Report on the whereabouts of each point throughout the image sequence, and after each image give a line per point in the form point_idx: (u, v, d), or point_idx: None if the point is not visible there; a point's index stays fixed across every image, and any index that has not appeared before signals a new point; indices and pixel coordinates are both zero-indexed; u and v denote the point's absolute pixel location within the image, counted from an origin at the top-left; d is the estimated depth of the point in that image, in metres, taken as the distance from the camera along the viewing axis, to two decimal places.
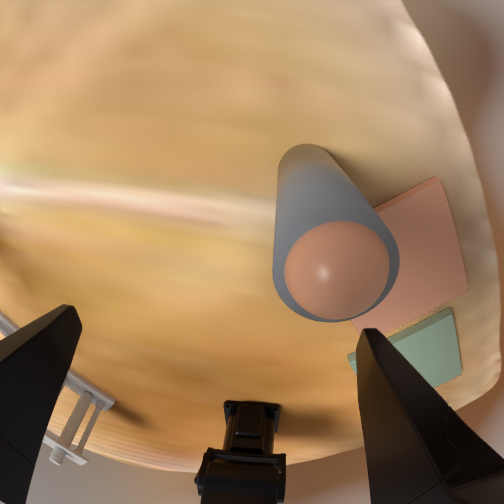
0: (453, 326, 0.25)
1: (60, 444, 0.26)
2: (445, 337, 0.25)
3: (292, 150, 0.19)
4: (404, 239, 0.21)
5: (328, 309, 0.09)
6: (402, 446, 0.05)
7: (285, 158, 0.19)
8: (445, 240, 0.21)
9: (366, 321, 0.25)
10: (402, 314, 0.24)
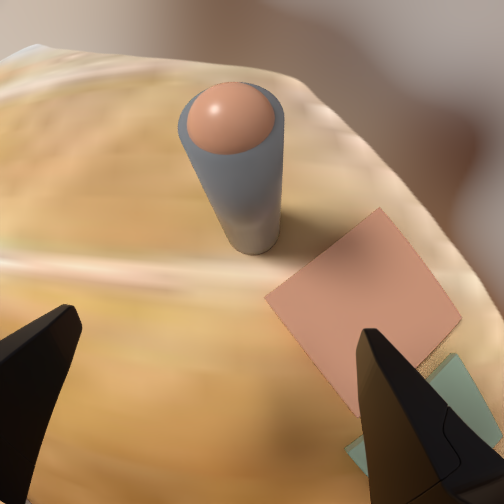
0: (465, 371, 0.18)
1: None
2: (461, 389, 0.18)
3: None
4: (364, 272, 0.21)
5: (215, 112, 0.10)
6: (402, 446, 0.05)
7: None
8: (409, 265, 0.21)
9: (352, 385, 0.19)
10: None
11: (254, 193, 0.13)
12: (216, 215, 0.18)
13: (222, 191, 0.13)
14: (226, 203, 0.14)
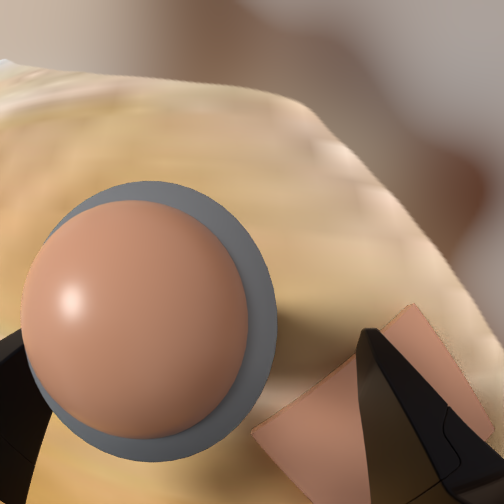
0: None
1: None
2: None
3: None
4: None
5: (50, 362, 0.03)
6: (402, 446, 0.05)
7: None
8: (445, 380, 0.14)
9: None
10: None
11: None
12: None
13: None
14: None
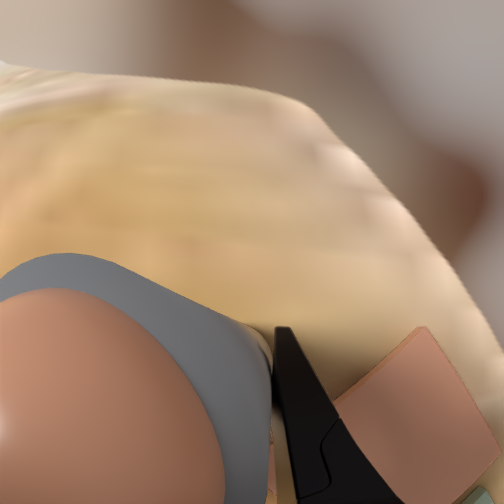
0: (491, 503, 0.09)
1: None
2: None
3: None
4: (392, 427, 0.12)
5: None
6: (282, 453, 0.05)
7: None
8: (454, 406, 0.12)
9: None
10: None
11: None
12: None
13: None
14: None
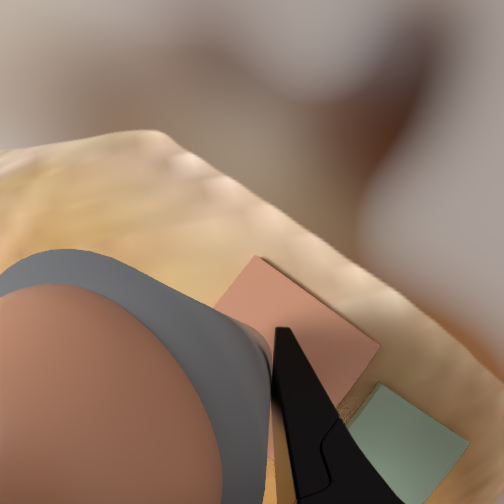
0: (398, 398, 0.18)
1: None
2: (398, 416, 0.18)
3: None
4: None
5: None
6: (282, 453, 0.05)
7: None
8: (301, 309, 0.21)
9: (268, 439, 0.18)
10: None
11: None
12: None
13: None
14: None
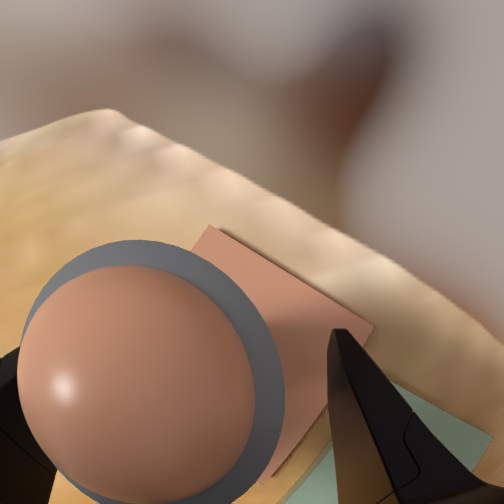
0: (403, 391, 0.15)
1: None
2: None
3: None
4: None
5: (55, 446, 0.02)
6: (362, 451, 0.05)
7: None
8: (269, 286, 0.17)
9: None
10: (289, 420, 0.15)
11: None
12: None
13: None
14: None
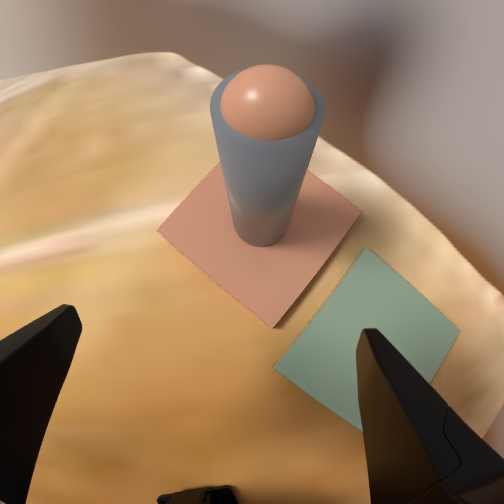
0: (383, 263, 0.22)
1: None
2: (385, 282, 0.21)
3: None
4: None
5: (257, 93, 0.09)
6: (402, 446, 0.05)
7: None
8: None
9: (257, 294, 0.21)
10: (297, 269, 0.22)
11: (279, 184, 0.12)
12: (229, 202, 0.17)
13: (247, 178, 0.12)
14: (247, 191, 0.13)
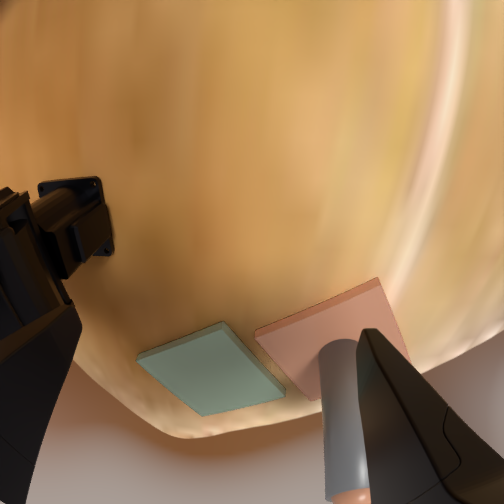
0: (269, 400, 0.30)
1: None
2: (255, 397, 0.29)
3: None
4: None
5: None
6: (402, 446, 0.05)
7: None
8: None
9: (285, 337, 0.25)
10: (291, 363, 0.26)
11: (325, 460, 0.17)
12: (352, 390, 0.20)
13: (336, 459, 0.16)
14: (335, 442, 0.17)
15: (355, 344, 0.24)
